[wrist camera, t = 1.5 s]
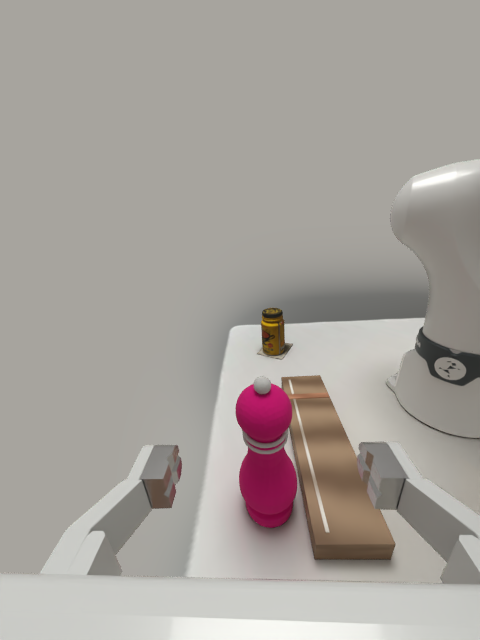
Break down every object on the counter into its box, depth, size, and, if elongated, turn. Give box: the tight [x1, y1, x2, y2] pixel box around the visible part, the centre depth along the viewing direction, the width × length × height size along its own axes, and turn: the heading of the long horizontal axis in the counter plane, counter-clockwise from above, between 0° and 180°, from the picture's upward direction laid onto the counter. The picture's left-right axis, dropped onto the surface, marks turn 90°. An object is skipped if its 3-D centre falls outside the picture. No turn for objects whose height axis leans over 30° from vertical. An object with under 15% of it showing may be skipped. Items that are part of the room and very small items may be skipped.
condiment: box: [257, 308, 293, 359], centre depth 64 cm, size 7×8×12 cm
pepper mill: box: [236, 376, 297, 528], centre depth 28 cm, size 7×7×20 cm
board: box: [282, 375, 395, 559], centre depth 38 cm, size 28×8×3 cm, turn 178°
